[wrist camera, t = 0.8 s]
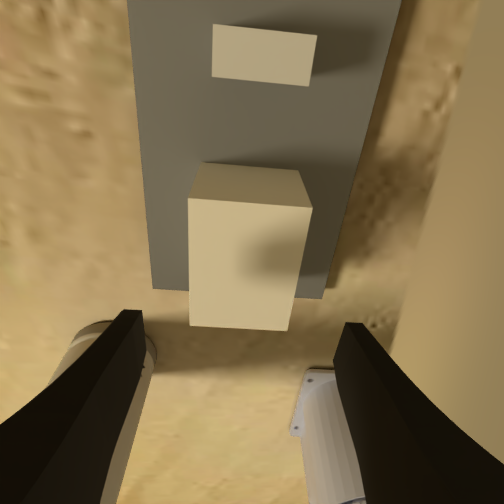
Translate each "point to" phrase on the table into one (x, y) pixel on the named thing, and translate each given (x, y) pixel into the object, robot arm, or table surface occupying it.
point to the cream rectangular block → (245, 245)
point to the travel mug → (132, 419)
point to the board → (254, 108)
